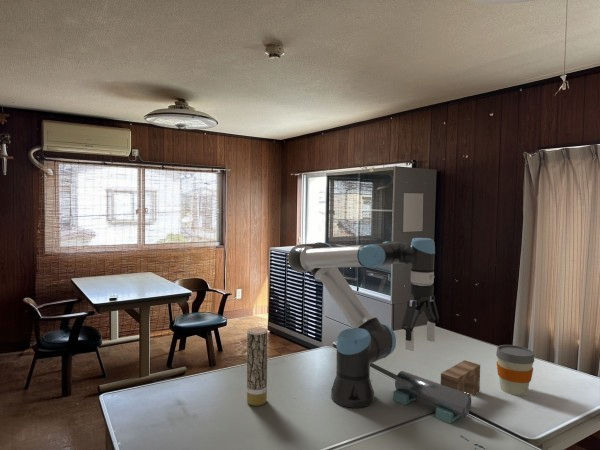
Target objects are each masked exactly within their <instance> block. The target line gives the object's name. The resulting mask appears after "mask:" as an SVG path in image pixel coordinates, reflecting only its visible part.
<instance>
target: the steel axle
mask: <svg viewBox="0 0 600 450" xmlns="http://www.w3.org/2000/svg"><path fill="white" fill-rule="evenodd" d="M394 387H395V390H398V391H401V392H403V393H406V394H409V395H410V396H412V397H415V398H417V399H416V400H420V401H422V402H426V403H428V404H430V405H433V406H435V407H442V408H444V409H447V410H449V411H452V412H454V413H455V414H458V415H461V416H460V417H464V418H465V417H467V416H468V415H469V413H470V411H471V409H472V408H471V407H472V395H470V394H467V393H464V392H462V391H459V390H456V389H453V388H450V387H447V386H444V385H441V383H439V382H435V381H433V380H429V379H427V378H423V377H421V376H418V375H416V374H413V373H410V372H407V371H405V370H404V371H403V370H400V371H399V372H398V373H397V375H396V378H395V381H394Z"/></svg>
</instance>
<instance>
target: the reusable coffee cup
mask: <svg viewBox="0 0 600 450" xmlns="http://www.w3.org/2000/svg"><path fill="white" fill-rule="evenodd" d="M495 355H496V358H497V361H496V369H497V375H498V377H499V387H500V390H501V391H503V392H504V393H506V394H510V395H513V396H518V397H520V396H521V397H522V396H526V395H528V392H529V387H530V382H531V381H532V378H533V373H534V367H533V366H534V363H535V352H534V351H533V350H532V349H529V348H527V347H524V346H520V345H514V344H513V345H512V344H501V345H498V346H497V347H496V354H495Z"/></svg>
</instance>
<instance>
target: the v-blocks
mask: <svg viewBox="0 0 600 450" xmlns="http://www.w3.org/2000/svg"><path fill="white" fill-rule="evenodd" d="M392 396H393V398H392V400H393V401H395V402H398V403H400V404H402V405H404V406H406V405H408V404H410V403H413V401H416V400H418V399H417V398H415V397H412V396H410V395H409V394H406V393H403V392H401V391H398V390H396V389H395V390H394V391H393V392H392ZM460 417H462V416H461V415H458V414H455V413H454V412H452V411H449V410H447V409H444V408H442V407H438V406H436V408H435V419H438V420H440V421H443V422H445V423H448V424H452V423H453V422H454V421H456V420H458V419H459V418H460Z"/></svg>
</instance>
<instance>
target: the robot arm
mask: <svg viewBox="0 0 600 450" xmlns="http://www.w3.org/2000/svg"><path fill="white" fill-rule="evenodd" d="M435 255H436V246H435V241H434V239H432V238H429V237H414V238H413V237H412V240H411V242H410V243H408V242H400V241H393V240H392V241H383V242H382V243H373V244H359V245H358V244H356V245H345V246H343V245H342V246H333V245H331V244H330V243H327V242H313V243H301V244H297V245H295V246H293V247H292V248H290V251H289V252H288V256H287V260H288V261H287V262H288V265H289V266H290V268H291V269H292V270H294V271H295V272H297V273H311V275H312V276H313V277H314V279H315V280H319V281H320V282H321V284H323V286H324V287H325V289H326V291H327V292H328V294H329V295H330V297H331V299H333V301H334V302H335V304H336V306H337V307H338V309H339V310H340V313H342V315H343V316H344V318H345V319H346V320H347V323H348V324H349V325H350V327H351V328H346V329H343V330H342V331H340V332H339V333H338V335H337V338H336V340H337V341H336V372H335V373H336V374H335V378H334V381H333V384H332V387H331V388H330V389H331V391H330V398H331V400H332V402H334V403H335V404H336V405H338V406H341V407H346V408H350V409H351V408H352V409H360V408H365V407H369V406H370V405H372V404H373V403H374V401H375V391H374V389H373V384H372V381H371V377H370V375H371V373H370V371H371V364H373V363H375V362H377V361H379V360H382V359H385V358H388V356H390V355H391V354H392V353H393V352H394V351H395V349H396V345H397V338H396V337H397V336H396V334H395V332H394V330H393V328H391V327H390V326H389V325H388V324H385V323H381V322H380V320H379V319H378V317H377V316H374V315H373V316H372V315H370V313H369V311H368V310H367V308H366V306H365V305H364V304H363V303H362V301H361V299H359V297H358V295H357V294H356V293H355V291H354V290H353V288H352V287H351V285H350V284H349V282H348V281H347V280H346V279H345V277H344V275H343V274H342V272H341V271H340V270H339V268H362V267H363V268H371V269H373V268H378V267H382V266H383V267H384V266H389V265H390V266H391V265H395V264H396V265H397V264H400V265H410V282H411V284H410V295H412V297H413V299H412V300H411V299H408V300H407V306H406V310H405V313H404V318H403V319H402V320H403V321H402V324H401V329H402V330H404V331H405V350H408V351H412V352H413V351H415V330H414V329H415V326H416V323H417V322H418V319H419V317H420V315H421V314H422V313H423V312H424V315H425V316H426V318H427V320H428V321H426V341H429V342H432V343H435V341H436V324H439V319H440V314H439V313H438V311H439V310H438V308H437V303H436V296H435V295H434V291H435V288H434V279H435Z"/></svg>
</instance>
